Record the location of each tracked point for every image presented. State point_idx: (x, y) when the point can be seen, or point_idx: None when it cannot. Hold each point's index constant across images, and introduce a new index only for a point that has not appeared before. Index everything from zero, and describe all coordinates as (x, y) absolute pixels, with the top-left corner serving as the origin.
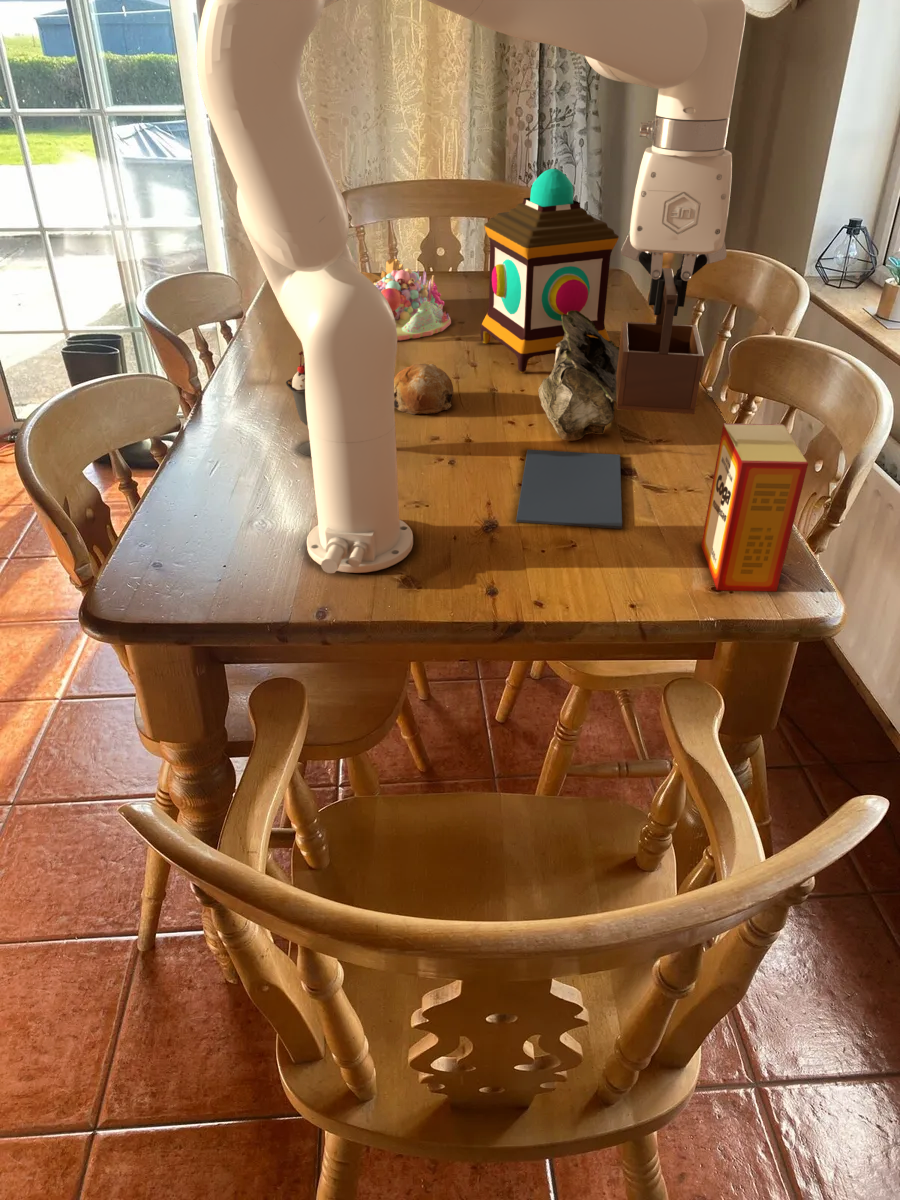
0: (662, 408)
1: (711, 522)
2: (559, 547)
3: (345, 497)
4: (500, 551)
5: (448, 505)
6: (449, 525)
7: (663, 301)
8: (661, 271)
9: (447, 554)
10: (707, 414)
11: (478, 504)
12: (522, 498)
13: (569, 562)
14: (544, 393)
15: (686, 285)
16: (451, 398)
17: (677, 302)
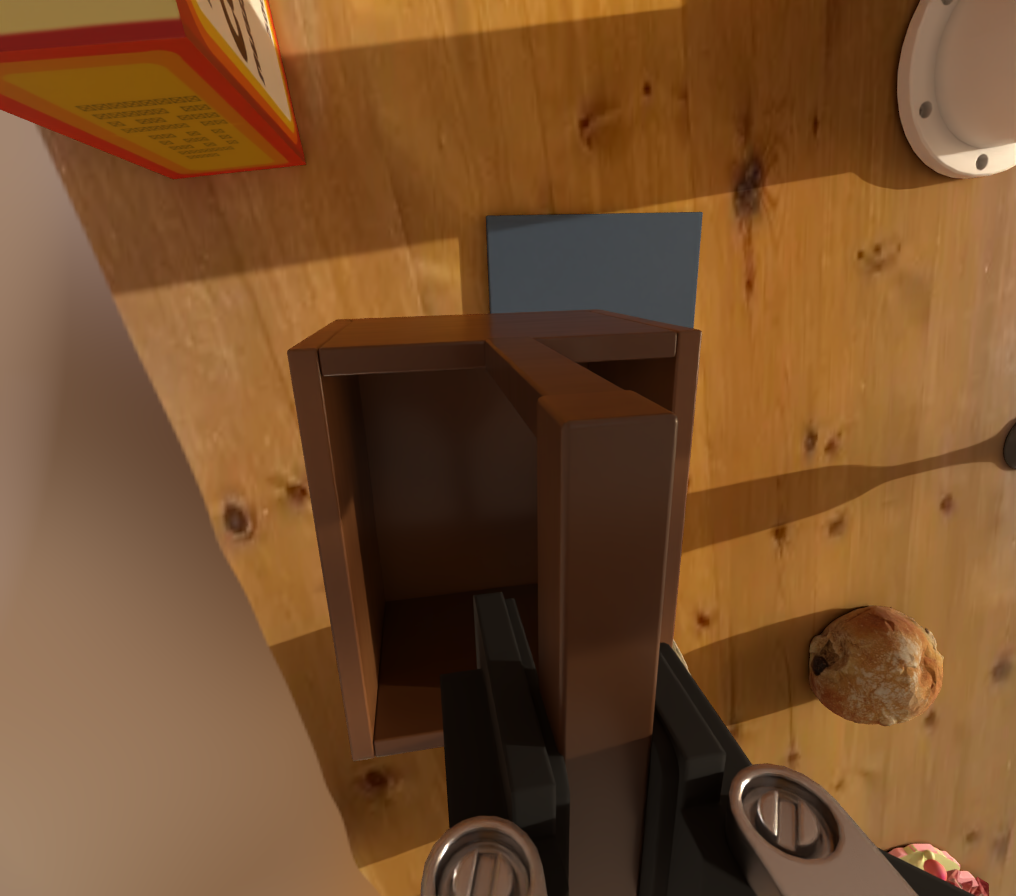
0: (451, 316)
1: (270, 75)
2: (613, 112)
3: None
4: (731, 76)
5: (822, 264)
6: (823, 179)
7: None
8: (759, 853)
9: (831, 49)
10: (328, 754)
11: (768, 278)
12: (690, 307)
13: (592, 43)
14: (683, 662)
15: (452, 802)
16: (814, 666)
17: (494, 646)
